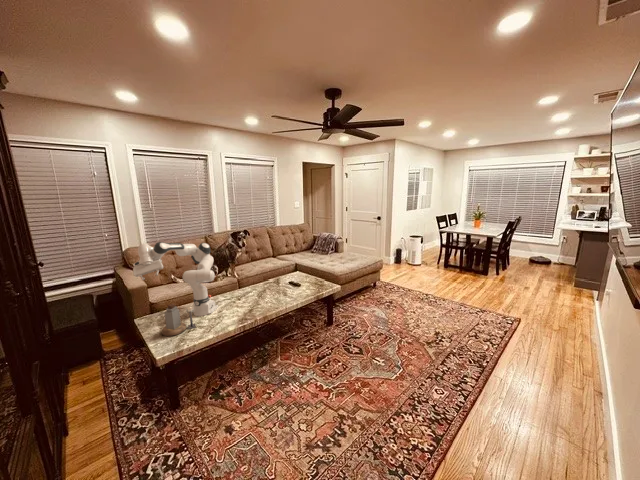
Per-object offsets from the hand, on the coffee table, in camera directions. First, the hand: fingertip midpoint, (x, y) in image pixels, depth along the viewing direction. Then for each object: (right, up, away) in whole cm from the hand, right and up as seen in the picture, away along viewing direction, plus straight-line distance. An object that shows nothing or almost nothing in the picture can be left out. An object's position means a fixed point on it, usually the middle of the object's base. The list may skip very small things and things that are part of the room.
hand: (150, 277), depth 202 cm
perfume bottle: (+21, -37, -4) cm, 43 cm away
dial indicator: (+31, -39, +2) cm, 50 cm away
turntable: (+21, -41, -3) cm, 46 cm away
